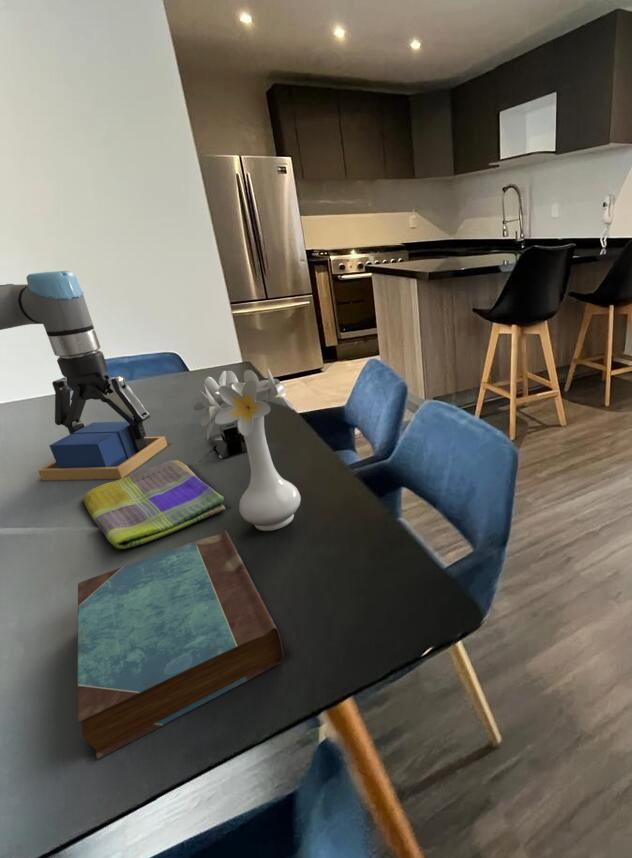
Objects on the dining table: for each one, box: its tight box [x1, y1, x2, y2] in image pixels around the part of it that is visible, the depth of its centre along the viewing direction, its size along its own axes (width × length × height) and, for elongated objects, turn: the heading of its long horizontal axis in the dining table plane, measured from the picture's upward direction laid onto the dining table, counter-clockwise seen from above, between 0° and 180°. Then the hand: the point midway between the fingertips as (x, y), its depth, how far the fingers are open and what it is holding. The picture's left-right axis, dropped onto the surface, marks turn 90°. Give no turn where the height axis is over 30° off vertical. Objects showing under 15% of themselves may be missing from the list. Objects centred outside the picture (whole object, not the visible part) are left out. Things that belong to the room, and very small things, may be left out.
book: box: [76, 530, 284, 760], centre depth 56 cm, size 23×18×5 cm
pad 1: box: [48, 432, 127, 468], centre depth 98 cm, size 10×6×7 cm, turn 86°
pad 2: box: [73, 420, 136, 460], centre depth 104 cm, size 10×6×7 cm, turn 86°
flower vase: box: [193, 368, 302, 532], centre depth 75 cm, size 13×18×25 cm
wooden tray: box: [38, 436, 168, 482], centre depth 103 cm, size 17×15×3 cm
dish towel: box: [82, 459, 227, 550], centre depth 85 cm, size 18×24×3 cm
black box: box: [213, 421, 248, 460], centre depth 108 cm, size 12×7×5 cm, turn 36°
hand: (114, 453), depth 105 cm, fingers open, 12 cm apart
